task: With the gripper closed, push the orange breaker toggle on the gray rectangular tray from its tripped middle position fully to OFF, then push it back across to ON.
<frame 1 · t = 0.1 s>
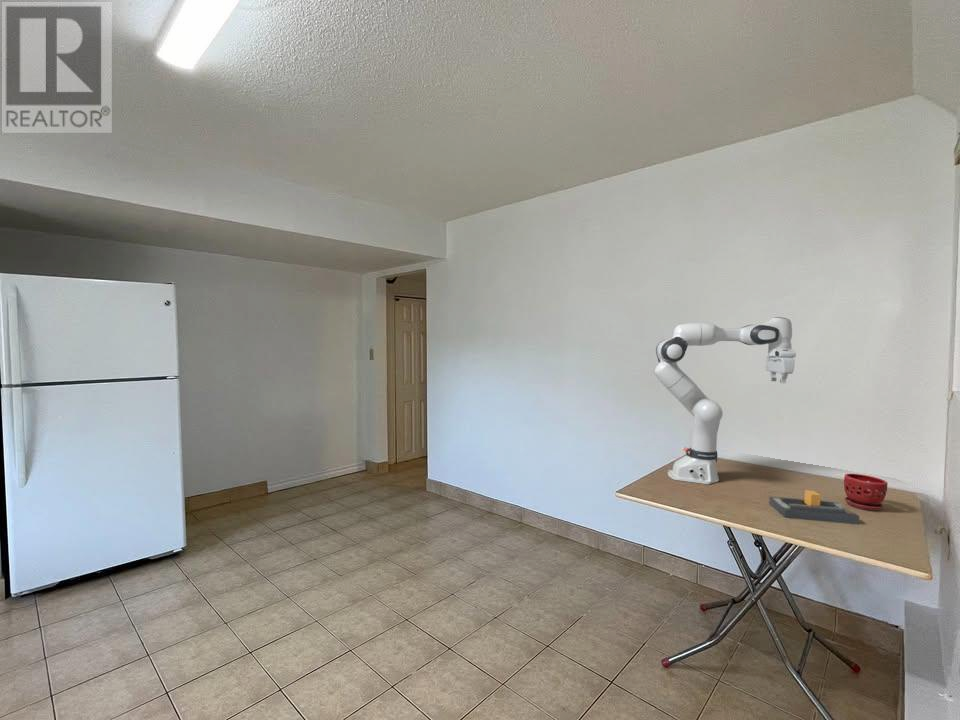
hand: (778, 382, 201), 48 cm above the table, fingers open, 8 cm apart
breaker toggle: (812, 498, 168), point 6 cm above the table, slide at 0.0 cm
gray rectangular tray: (811, 513, 169), on the table
plant pot: (863, 507, 177), on the table
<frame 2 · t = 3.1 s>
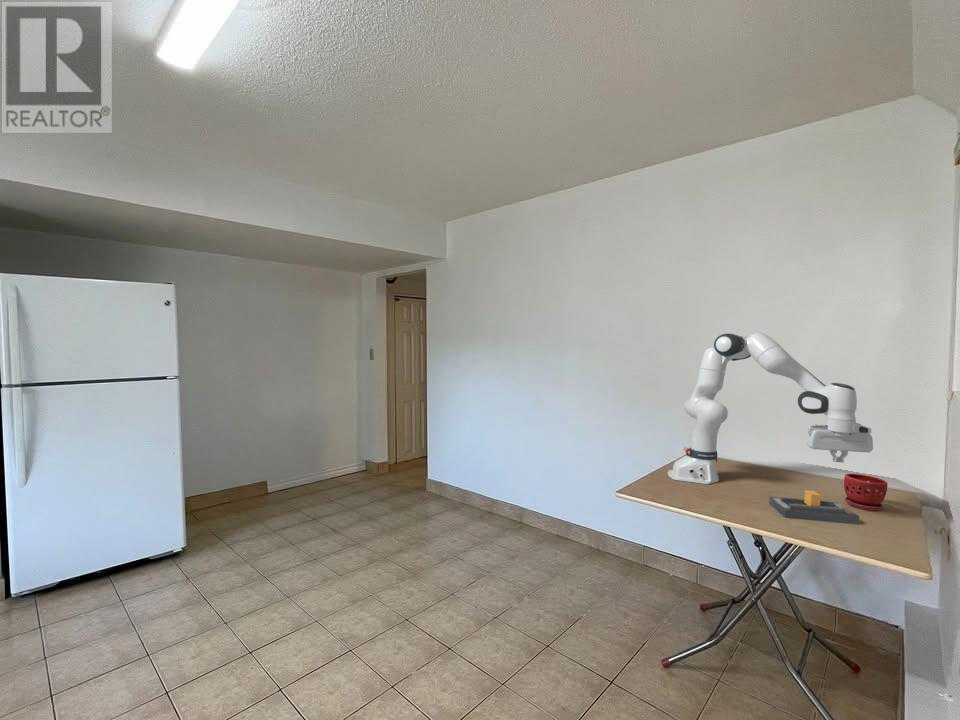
hand: (838, 461, 166), 21 cm above the table, fingers closed
nothing on the table moved.
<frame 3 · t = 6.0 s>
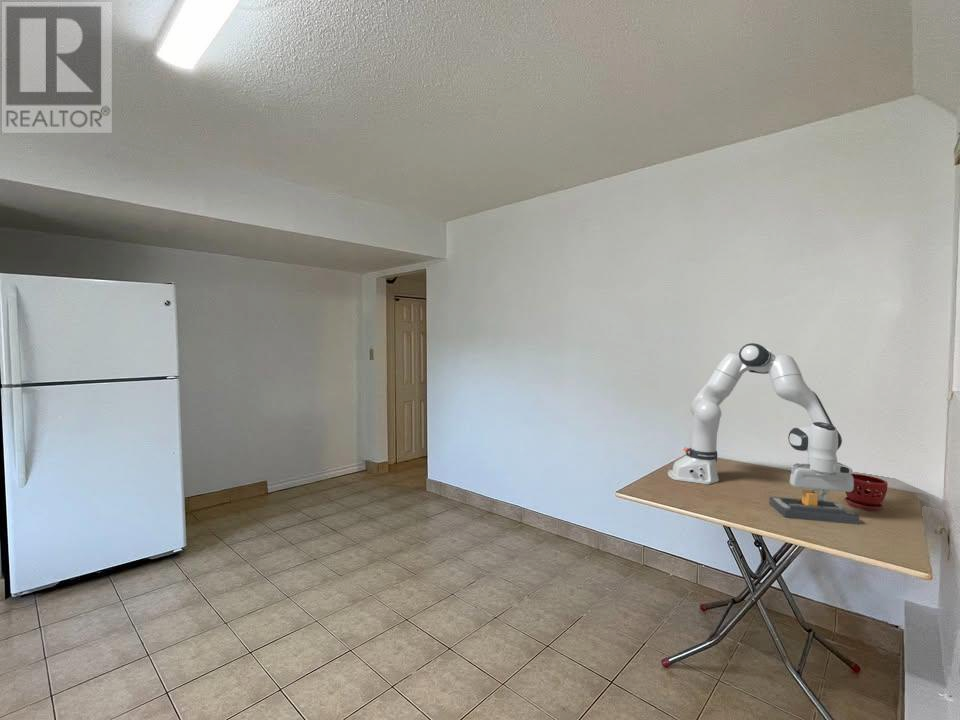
hand: (819, 500, 168), 5 cm above the table, fingers closed
breaker toggle: (809, 498, 168), point 6 cm above the table, slide at -0.9 cm, touching gripper
everything else where it was.
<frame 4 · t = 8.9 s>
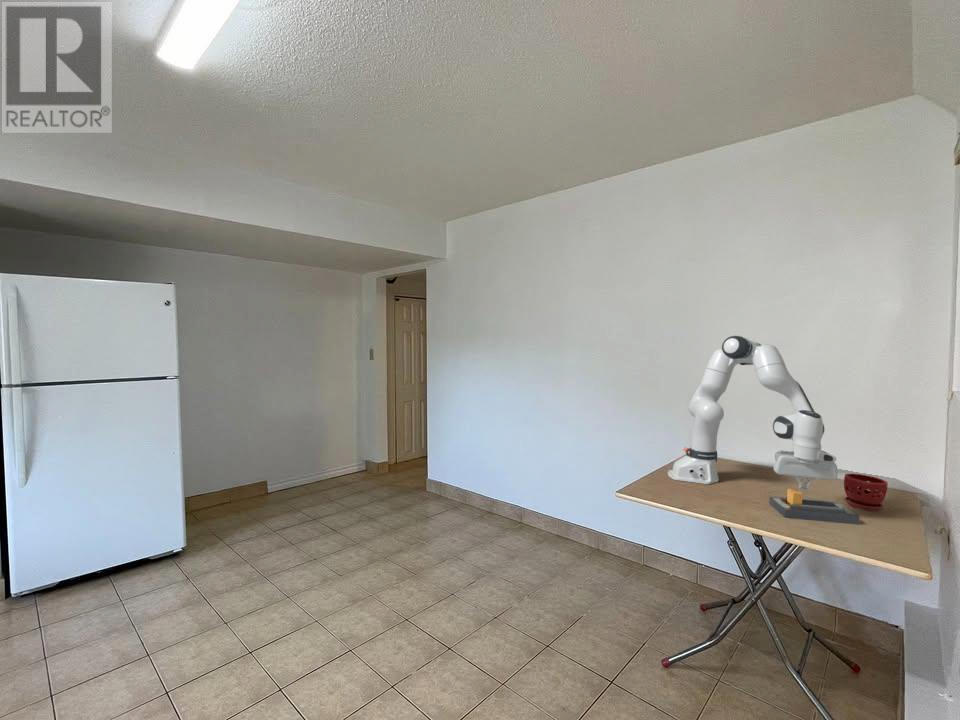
hand: (803, 488, 168), 10 cm above the table, fingers closed
breaker toggle: (794, 497, 170), point 6 cm above the table, slide at -6.1 cm
everything else where it was.
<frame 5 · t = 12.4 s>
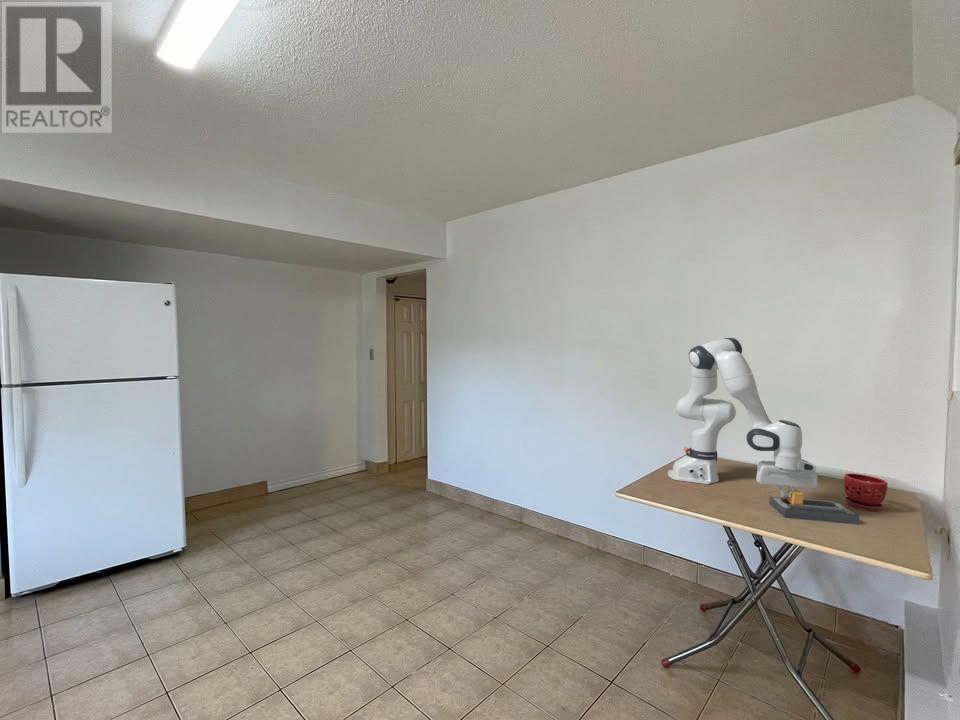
hand: (785, 497, 170), 6 cm above the table, fingers closed
breaker toggle: (795, 497, 170), point 6 cm above the table, slide at -5.8 cm, touching gripper
everything else where it was.
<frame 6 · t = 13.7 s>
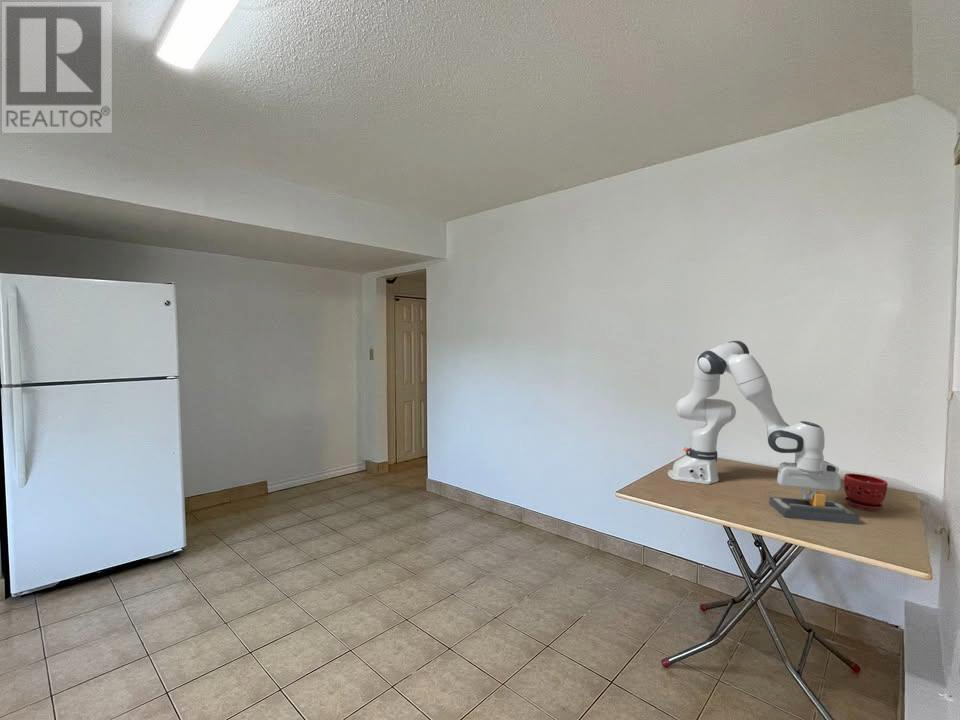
hand: (807, 499, 168), 6 cm above the table, fingers closed
breaker toggle: (816, 499, 168), point 6 cm above the table, slide at 1.6 cm, touching gripper
everything else where it was.
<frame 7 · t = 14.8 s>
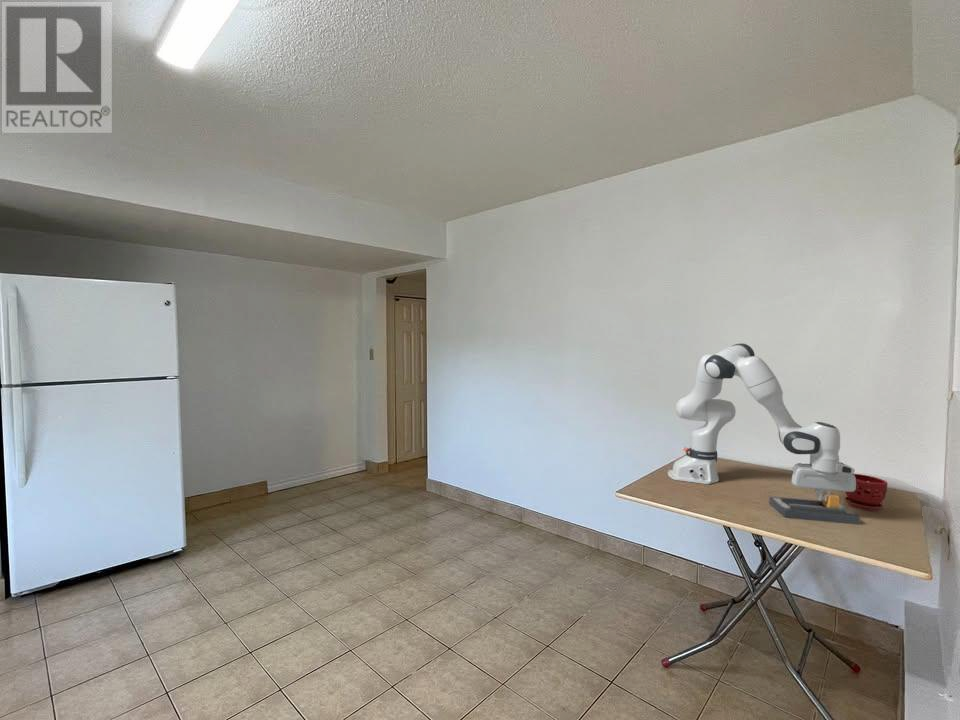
hand: (821, 500, 167), 6 cm above the table, fingers closed
breaker toggle: (830, 500, 167), point 6 cm above the table, slide at 6.3 cm, touching gripper
everything else where it was.
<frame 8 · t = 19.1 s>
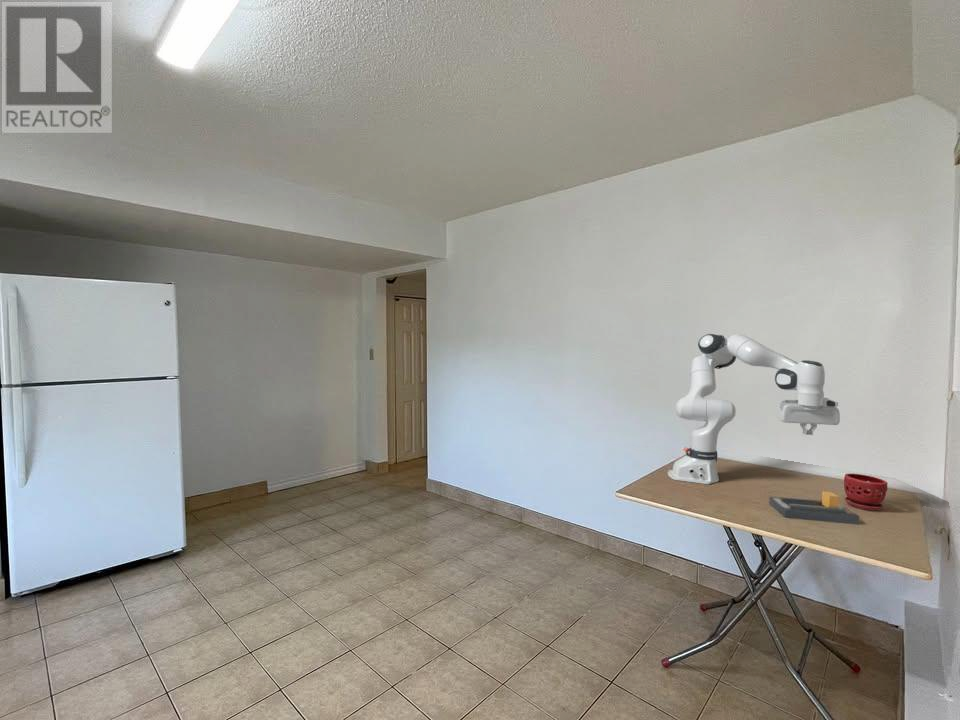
hand: (808, 434, 176), 29 cm above the table, fingers closed
breaker toggle: (830, 500, 167), point 6 cm above the table, slide at 6.1 cm
everything else where it was.
at the end: breaker toggle slide at 6.1 cm; plant pot moved 0.3 cm from its start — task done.
